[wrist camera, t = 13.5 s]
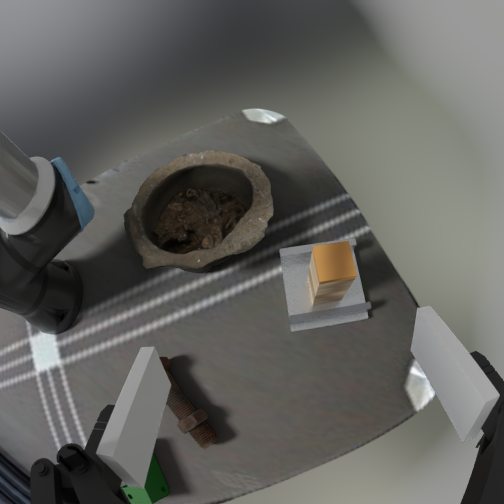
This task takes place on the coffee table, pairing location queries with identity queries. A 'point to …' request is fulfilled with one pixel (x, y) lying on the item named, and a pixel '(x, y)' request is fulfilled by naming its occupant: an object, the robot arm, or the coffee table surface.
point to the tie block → (330, 272)
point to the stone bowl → (199, 211)
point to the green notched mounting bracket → (149, 486)
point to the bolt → (188, 413)
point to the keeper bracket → (299, 296)
